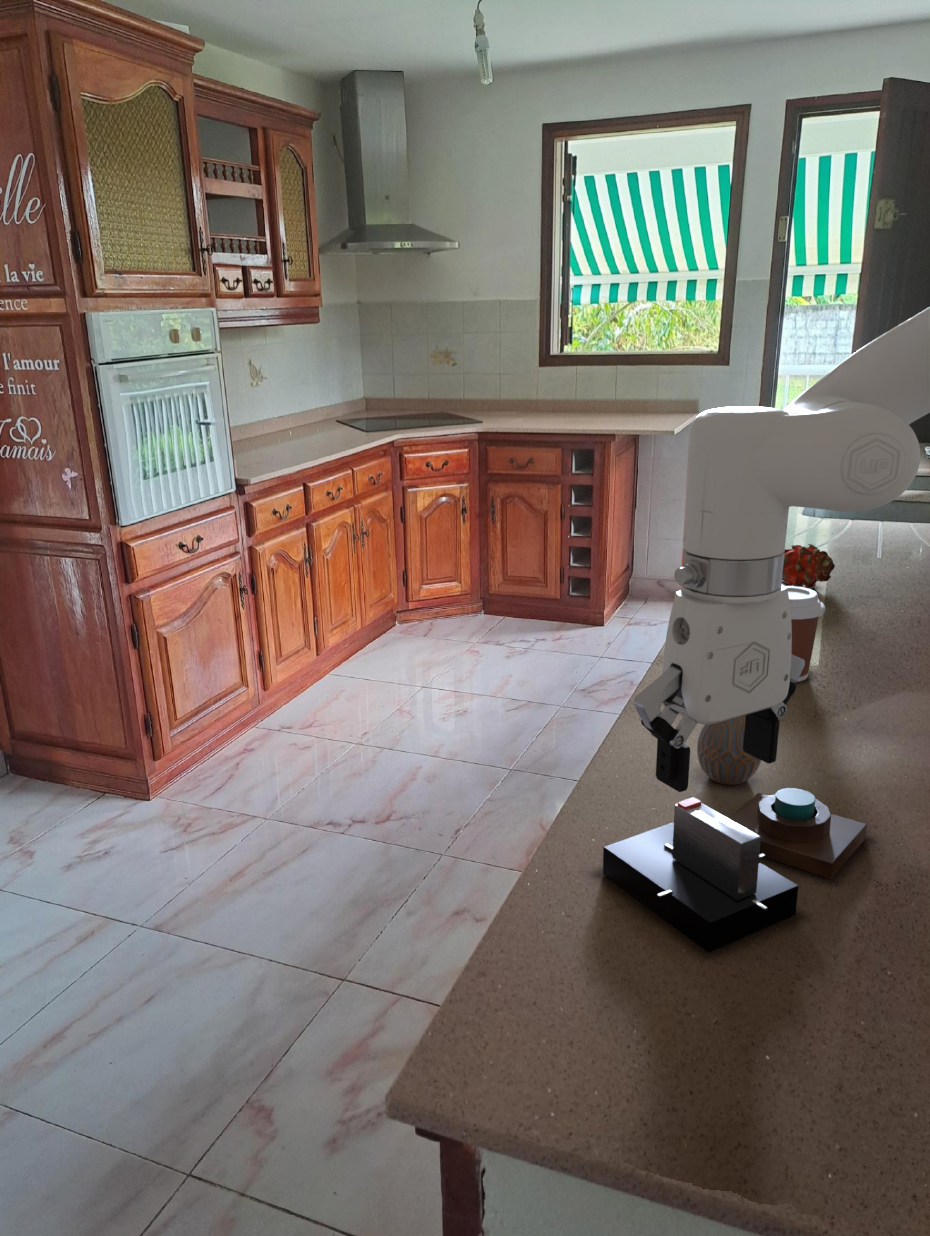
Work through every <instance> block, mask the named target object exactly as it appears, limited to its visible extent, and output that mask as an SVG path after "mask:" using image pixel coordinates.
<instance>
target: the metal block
mask: <svg viewBox="0 0 930 1236" xmlns="http://www.w3.org/2000/svg"><path fill="white" fill-rule="evenodd" d="M729 818H730V817H728V816H726V815H723V814H722V813H720V812H718V811H717V810H715V809H713V808H711V807H710V806H708V805H706V804H704V803H703V802H702V801H701V800H700V799H698V798H696V797H694V796H693V797H690V798H687V799H684V800H681V801H678V802H676V803H675V804H674V810H673V822H674V831H673V854H672V858H673V859H674V860H676V861H677V862H679V863H680V864H682V865H684V866H685V867H687V868H688V869H690V870H691V871H693V872H694V873H696V874H697V875H699V876H700V877H702V878H703V879H705V880H706V881H708V882H709V883H711V884H712V885H714V886H715V887H717V888H718V889H720V890H722V891H723V892H725V893H726V894H728V895H729V896H731V897H732V898H734V899H735V900H737V901H738V900H740V899H743V898H745V897H748V896H750V895H753V894H755V893H756V890H757V877H758V865H759V862H760V859H759V852H760V840H761V836H759V835H757V834H756V833H754V832H752V831H750V830H749V829H747V828H745V827H743V826H741V825H740V824H738V823H736V822H734V821H733V820H731V819H729Z"/></svg>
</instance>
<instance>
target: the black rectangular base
mask: <svg viewBox="0 0 930 1236" xmlns="http://www.w3.org/2000/svg"><path fill="white" fill-rule="evenodd" d="M673 831H674V821H672V822H670V823H668V824H665V825H661V826H659V827H656V828H653V829H651V830H647V831H643V832H641V833H639V834H636V835H633V836H630V837H628V838H625V839H622V840H619V841H616V842H613V843H611V844H608V845H605V846H603V847H602V848H603V849H602V852H603V853H602V875H603V876H604V877H606V878H607V879H608V880H610V881H611V882H613V883H614V884H615V885H617V886H618V887H619V888H621V889H622V890H623V891H625V892H626V893H627V894H629V895H630V896H632V897H633V898H634V900H635V899H636V900H637V901H638V902H639V903H641V904H642V905H644V906H645V907H646V908H647V909H649V910H650V911H651V912H653V913H654V914H656V915H657V916H658V917H660V918H661V919H662V920H663V921H664V922H666V923H667V924H669V925H670V926H672V927H673V928H674V929H676V930H677V931H679V933H681V934H682V935H684V937H686V938H688V939H689V940H690V941H692V942H693V943H694V944H696V945H697V946H698V947H700V948H701V949H703V950H704V951H705V952H706V953H711V952H714V951H717V950H718V949H721V948H723V947H725V946H728V945H730V944H733V943H734V942H737V941H740V940H741V939H744V938H746V937H748V936H751V935H753V934H755V933H758V932H760V931H762V930H765V929H767V928H770V927H771V926H773V925H776V924H778V923H781V922H783V921H785V920H787V919H789V918H792V917H795V916H797V908H798V907H797V906H798V898H799V887H800V886H799V885H798V884H797V883H795V882H794V881H792V880H790V879H789V878H787V877H785V876H784V875H781V874H780V873H779V872H777V871H775V870H773V869H771V868H770V867H769V866H767V865H765V864H763V862H760V861H759V865H758V877H757V890H756V893H755V894H753V895H750V896H748V897H745V898H743V899H740V900H738V901H737V900H735V899H734V898H732V897H731V896H729V895H728V894H726V893H725V892H723V891H722V890H720V889H718V888H717V887H715V886H714V885H712V884H711V883H709V882H708V881H706V880H705V879H703V878H702V877H700V876H699V875H697V874H696V873H694V872H693V871H691V870H690V869H688V868H687V867H685V866H684V865H682V864H680V863H679V862H677V861H676V860H674V859H673V858H672V854H673ZM762 858H766V857H765V854H763V853H762V854H760V855H759V860H760V859H762Z"/></svg>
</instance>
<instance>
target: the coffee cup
mask: <svg viewBox="0 0 930 1236" xmlns="http://www.w3.org/2000/svg"><path fill="white" fill-rule="evenodd" d="M785 586H786V587H787V590H788V595H789V601H790V610H791V625H792V651H791V654H793V655H795V656H797V657H799V658H802V659H804V660H805V666H804V668H803V670H802V673H801V675H800V677H799V679H798V681H797V682H796V683H798V682H802V681H805V680H807V679H808V677H809V672H810V667H811V661H812V656H813V650H814V645H815V639H816V636H817V635H816V634H817V629H818V624H819V618H820V617H821V616H823V614H824V613H826V606H825V604H824V602H822V601H820V599H819V594H818V593H817V591H815V590H813V589H812V588H808V587H804V586H802V587H796V586H794V585H791V586H787V585H785Z"/></svg>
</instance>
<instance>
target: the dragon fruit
mask: <svg viewBox="0 0 930 1236" xmlns="http://www.w3.org/2000/svg"><path fill="white" fill-rule="evenodd" d="M807 545H808V546H802V545H801V544H792V545H791V548H785V553H784V564H783V574H782V585H785V586H796V587H804V586H805V588H808V589H813V588H815V587H816V584H817V582H820V583H822V582H828V581H829V580H830V579H831V578H832V575H831V573H832V571H834V569H835V567H836V565H835V563H834V560H833V559H832V557H830V556H829V554H828V552H827V551H826V550H820V548H818V547H817V546H815V545H814V544H812V543H808V544H807Z"/></svg>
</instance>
